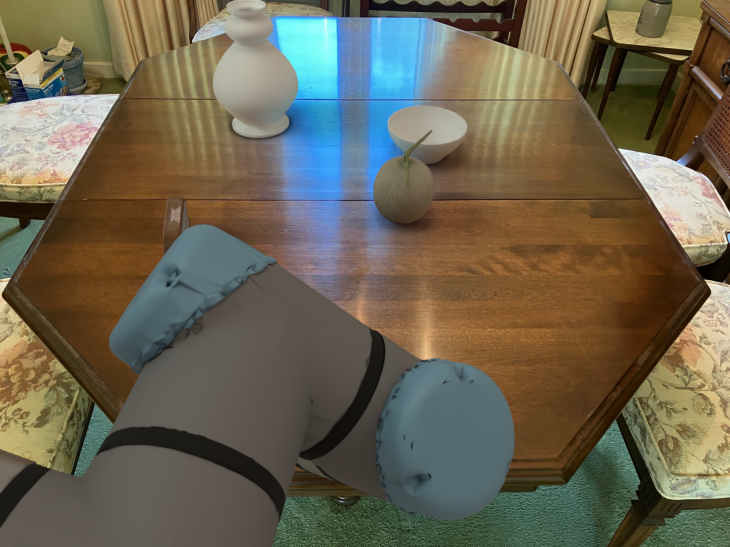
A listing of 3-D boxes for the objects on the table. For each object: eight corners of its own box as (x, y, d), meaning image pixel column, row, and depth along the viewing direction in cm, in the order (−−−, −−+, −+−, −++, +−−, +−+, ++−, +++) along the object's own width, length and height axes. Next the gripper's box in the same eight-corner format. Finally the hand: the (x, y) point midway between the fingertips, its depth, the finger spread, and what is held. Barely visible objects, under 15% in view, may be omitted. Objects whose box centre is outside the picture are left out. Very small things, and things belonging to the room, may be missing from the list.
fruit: (372, 238, 94) (374, 162, 84) (372, 198, 103) (374, 125, 93) (433, 239, 94) (443, 163, 84) (428, 199, 103) (436, 127, 93)
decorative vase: (296, 145, 116) (286, 22, 99) (212, 143, 116) (188, 20, 99) (304, 106, 129) (297, -9, 112) (229, 104, 129) (210, -11, 112)
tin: (176, 227, 96) (164, 186, 90) (194, 225, 96) (184, 185, 90) (169, 287, 85) (156, 245, 79) (190, 285, 85) (179, 243, 80)
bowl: (396, 179, 108) (398, 147, 103) (378, 138, 119) (379, 108, 114) (473, 172, 110) (479, 140, 105) (449, 132, 121) (453, 102, 117)
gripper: (278, 525, 36) (197, 470, 56) (416, 409, 42) (298, 397, 63) (221, 428, 35) (159, 408, 55) (370, 325, 42) (266, 341, 62)
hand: (233, 402), depth 59 cm, fingers closed
